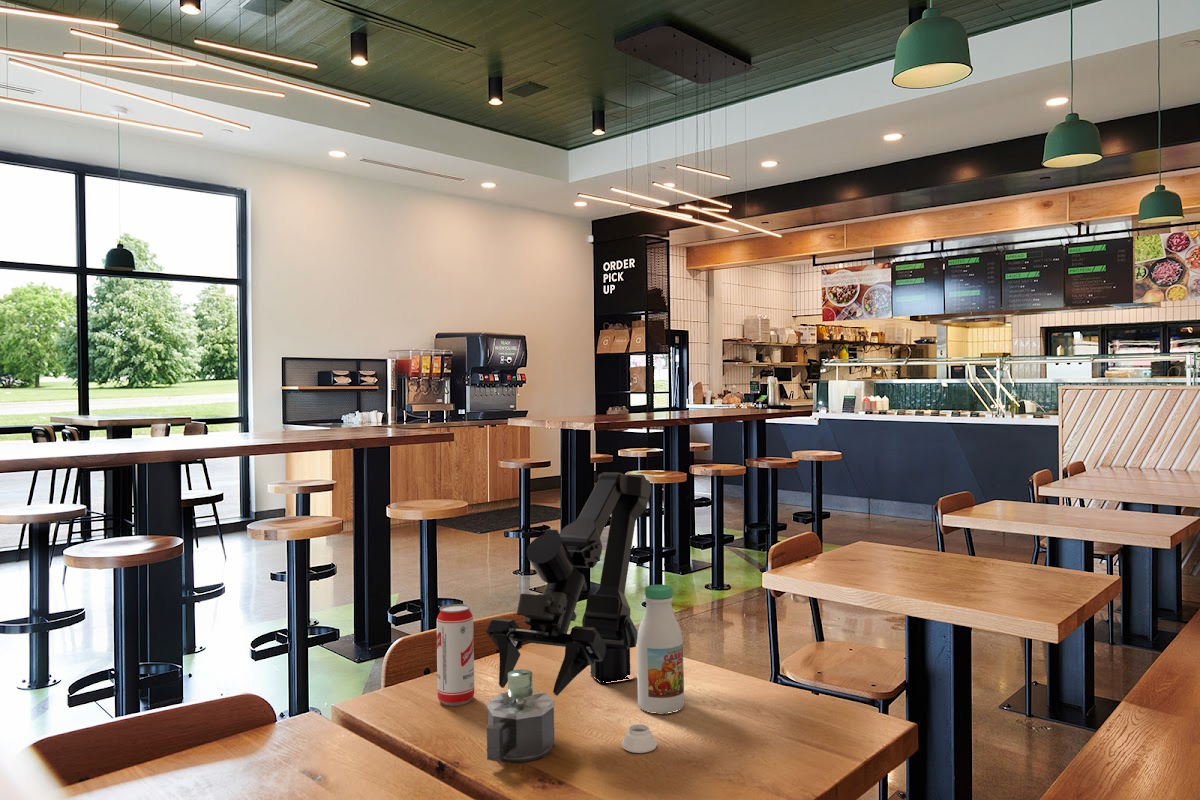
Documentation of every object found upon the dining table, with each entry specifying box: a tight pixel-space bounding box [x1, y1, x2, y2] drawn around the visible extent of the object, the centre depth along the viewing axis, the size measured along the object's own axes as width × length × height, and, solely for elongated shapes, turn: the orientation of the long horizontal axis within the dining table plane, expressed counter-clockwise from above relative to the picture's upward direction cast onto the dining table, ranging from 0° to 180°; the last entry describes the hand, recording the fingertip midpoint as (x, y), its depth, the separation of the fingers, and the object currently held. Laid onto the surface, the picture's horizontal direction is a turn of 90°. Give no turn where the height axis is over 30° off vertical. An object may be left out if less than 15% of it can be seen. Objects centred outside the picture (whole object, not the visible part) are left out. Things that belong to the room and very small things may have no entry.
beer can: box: [436, 603, 475, 707], centre depth 138 cm, size 6×6×16 cm
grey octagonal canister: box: [486, 690, 555, 764], centre depth 116 cm, size 12×9×7 cm
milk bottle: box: [636, 584, 685, 713], centre depth 133 cm, size 8×8×20 cm
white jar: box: [621, 723, 658, 754], centre depth 117 cm, size 5×3×5 cm
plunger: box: [507, 668, 534, 704], centre depth 117 cm, size 4×4×10 cm
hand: (527, 690), depth 119 cm, fingers open, 9 cm apart
